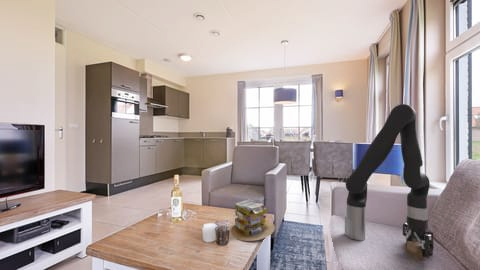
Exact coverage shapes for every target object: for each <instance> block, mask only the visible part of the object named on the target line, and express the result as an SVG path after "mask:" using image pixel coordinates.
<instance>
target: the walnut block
mask: <svg viewBox="0 0 480 270" xmlns="http://www.w3.org/2000/svg"><path fill="white" fill-rule="evenodd" d="M406 254H407V255H408V256H409V257H410V258H411V259H414V260H421V261H422V260H423V261H424V260H426V258H425V257H423V256H422V246H421V244H420V243H419V242H417V241H407V244H406Z"/></svg>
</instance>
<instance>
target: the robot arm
mask: <svg viewBox="0 0 480 270" xmlns="http://www.w3.org/2000/svg"><path fill="white" fill-rule="evenodd" d="M416 117H417V112H416V110H415V109H414V108H413V107H412V106H411V105H409V104H405V103H401V104H398V105H396V106H394V107H393V108H391V111H390V113H389V114H388V117H387V118H386V121H385V123H384V124H383V126H382V128H381V129H380V131H379V132H378V134H376V136H375V137H374V139H373V140H372V142H371V143H370V144H369V146H368V148H367V149H366V151H365V152H364V154H363V155H362V158H361V160H360V162H359V163H358V165H357V167H356V168H355V170H353V172H352V173H351V174H350V175H349V176H348V178H347V179H346V181H345V188H346V190H347V191H348V194H347V198H346V215H345V217H344V235H345V236H346V237H347V238H348V239H350V240H351V239H352V240H356V241H365V240H366V225H367V224H366V223H367V222H366V221H367V220H366V219H367V218H366V216H367V215H366V214H367V213H366V212H367V207H366V206H367V200H368V181H369V179H370V177H371V176H372V175H373V174H374V173H375V171H377V169H379V167H380V166H381V165H383V163H384V162H385V160H386V159H387V158H388V156H389V155H390V153H391V152H392V149H393V148H394V146H395V143H396V140H397V138H398V135H399V136H400V150H401V156H402V161H403V170H402V172H403V173H402V175H403V176H402V179H403V181H404V184H405V185H406V187H408V188H409V189H410V191H409V192H408V193H407V194H406V195H407V196H406V209H405V210H406V211H405V212H406V214H405V216H406V222H405V223H402V235H403V236H404V237H405V239H406V242H407V241H412V238H415V239H417V240H418V242H419V243H420V244H421V246H422V256H423V257H425V259H426V258H429V255H430V254H429V250H433V251H434V250H435V249H434V247H435V246H434V235H433V236H432V235H428V234H426V229H429V228H428V227H429V226H428V223H429V222H428V221H429V218H428V217H429V215H428V200H427V198H428V195H429V190H430V185H431V183H430V179H429V176H428V175H426V173H423V172H421V168H422V167H423V164H424V162H423V157H422V153H421V147H420V145H419V140H418V136H417V130H416V129H417V126H416V125H417V124H416V123H417V122H416V120H417V118H416ZM423 239H424V241H421V240H423ZM406 242H405V243H406ZM423 243H425V246H424V244H423ZM429 244H430V246H429ZM406 245H407V243H406Z"/></svg>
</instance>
